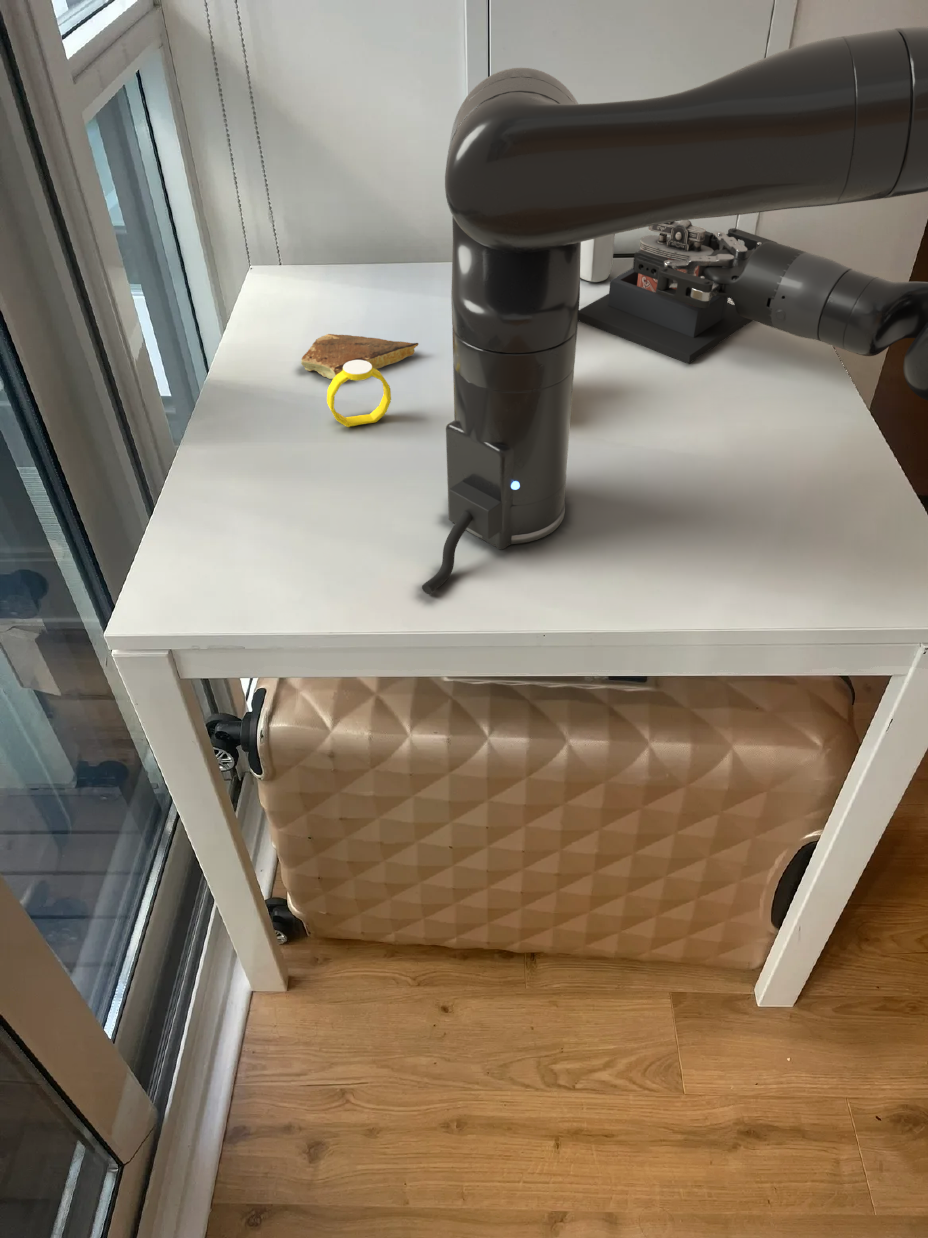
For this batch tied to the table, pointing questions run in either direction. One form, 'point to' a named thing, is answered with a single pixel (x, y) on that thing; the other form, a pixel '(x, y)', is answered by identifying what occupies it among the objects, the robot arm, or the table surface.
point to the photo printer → (597, 258)
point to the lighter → (673, 246)
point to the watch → (358, 372)
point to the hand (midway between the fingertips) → (658, 247)
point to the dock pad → (662, 319)
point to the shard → (353, 353)
